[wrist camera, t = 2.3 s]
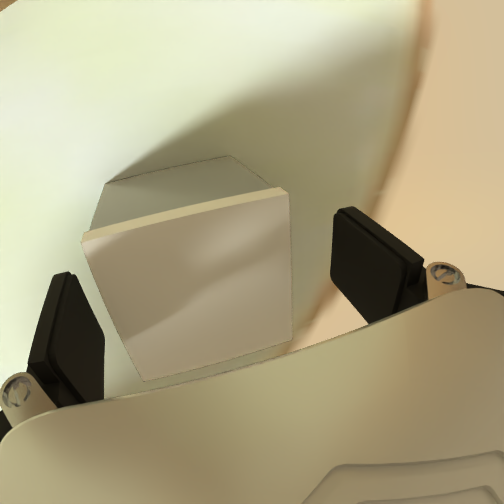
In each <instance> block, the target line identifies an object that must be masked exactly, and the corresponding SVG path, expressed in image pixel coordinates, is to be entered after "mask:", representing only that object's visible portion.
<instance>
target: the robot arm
mask: <svg viewBox="0 0 504 504" xmlns="http://www.w3.org/2000/svg"><path fill="white" fill-rule="evenodd" d="M423 263H424V259H423V258H422V257H421V256H420V255H419V254H417V253H416V252H415V251H414V250H412V249H411V248H410V247H408V246H407V245H406V244H405V243H403V242H402V241H401V240H399V239H398V238H396V237H395V236H394V235H393V234H391V233H390V232H389V231H387V230H386V229H385V228H383V227H382V226H380V225H379V224H378V223H376V222H375V221H374V220H372V219H371V218H369V217H368V216H367V215H365V214H364V213H362V212H361V211H359V210H358V209H357V208H355V207H353V206H351V207H346V208H341V209H339V210H338V211H337V213H336V214H335V215H334V218H333V238H332V255H331V269H330V276H331V279H332V281H333V283H334V284H335V285H336V286H337V287H338V289H339V290H340V291H341V292H342V293H343V294H344V296H345V297H346V298H347V299H348V300H349V301H350V302H351V304H352V305H353V306H354V307H355V308H356V309H357V311H358V312H359V313H360V314H361V315H362V317H363V318H364V319H365V320H366V321H367V323H368V325H366V326H363V327H361V328H358V329H356V330H353V331H350V332H348V333H345V334H342V335H340V336H337V337H334V338H331V339H329V340H326V341H323V342H320V343H317V344H315V345H311V346H309V347H306V348H303V349H300V350H297V351H294V352H291V353H288V354H285V355H281V356H278V357H275V358H272V359H269V360H266V361H262V362H259V363H256V364H252V365H249V366H245V367H242V368H238V369H235V370H231V371H228V372H224V373H220V374H217V375H213V376H209V377H205V378H201V379H197V380H193V381H189V382H185V383H181V384H177V385H172V386H168V387H164V388H159V389H154V390H150V391H145V392H140V393H135V394H130V395H125V396H120V397H115V398H109V399H104V352H105V337H104V334H103V331H102V329H101V327H100V325H99V323H98V321H97V319H96V317H95V315H94V313H93V311H92V309H91V307H90V305H89V303H88V300H87V298H86V296H85V294H84V292H83V290H82V287H81V285H80V283H79V281H78V278H77V276H76V275H75V274H73V275H71V273H70V272H64V273H60V274H56V275H54V276H53V278H52V281H51V283H50V286H49V289H48V292H47V295H46V298H45V301H44V305H43V308H42V311H41V314H40V318H39V321H38V324H37V328H36V332H35V335H34V339H33V343H32V347H31V351H30V355H29V359H28V363H27V364H28V367H27V371H26V372H19V373H16V374H14V375H12V376H11V377H9V378H8V379H7V380H6V381H5V382H4V384H3V385H2V387H1V389H0V406H1V408H2V410H1V411H0V504H504V291H500V290H495V289H491V288H486V287H482V286H476V285H472V284H468V283H466V282H465V278H464V275H463V273H462V272H461V271H460V270H459V269H458V268H457V267H455V266H453V265H451V264H448V263H444V262H434V263H431V264H429V265H428V266H427V268H426V269H425V268H424V267H423Z"/></svg>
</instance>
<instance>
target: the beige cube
mask: <svg viewBox="0 0 504 504" xmlns="http://www.w3.org/2000/svg"><path fill="white" fill-rule="evenodd" d="M81 245H82V248H83V251H84V254H85V256H86V259H87V262H88V264H89V267H90V269H91V272H92V274H93V277H94V279H95V282H96V284H97V287H98V289H99V292H100V294H101V296H102V299H103V301H104V303H105V306H106V308H107V310H108V312H109V315H110V317H111V319H112V321H113V323H114V325H115V327H116V330H117V332H118V334H119V336H120V338H121V340H122V342H123V344H124V346H125V348H126V350H127V352H128V354H129V356H130V358H131V360H132V362H133V364H134V365H135V367H136V369H137V371H138V373H139V375H140V377H141V378H142V380H143V382H145V381H150V380H154V379H158V378H162V377H167V376H171V375H175V374H179V373H183V372H187V371H190V370H194V369H198V368H202V367H205V366H209V365H213V364H216V363H220V362H223V361H227V360H230V359H234V358H237V357H240V356H244V355H247V354H250V353H253V352H257V351H260V350H263V349H266V348H269V347H272V346H275V345H278V344H281V343H284V342H287V341H290V340H292V268H291V231H290V204H289V193H287V192H286V191H285V190H283V189H282V188H281V187H276V188H273V187H272V186H271V185H269V184H268V183H267V182H265V181H264V180H263V179H261V178H260V177H259V176H257V175H256V174H255V173H253V172H252V171H251V170H249V169H248V168H247V167H245V166H244V165H243V164H241V163H240V162H238V161H237V160H236V159H234V158H233V157H232V156H227V157H221V158H216V159H210V160H205V161H200V162H195V163H190V164H185V165H181V166H176V167H171V168H167V169H162V170H158V171H154V172H149V173H145V174H141V175H137V176H133V177H129V178H125V179H121V180H117V181H114V182H110V183H106V184H105V185H104V188H103V191H102V194H101V196H100V199H99V202H98V205H97V208H96V211H95V214H94V217H93V220H92V223H91V226H90V230H89V231H87V232H84V234H83V237H82V240H81Z"/></svg>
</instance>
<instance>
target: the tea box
mask: <svg viewBox="0 0 504 504" xmlns="http://www.w3.org/2000/svg"><path fill="white" fill-rule="evenodd" d="M15 1H17V0H0V12H1V11H2V10H3V9H5V8H6V7H8V6H9V5H11V4H12V3H14V2H15Z"/></svg>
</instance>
